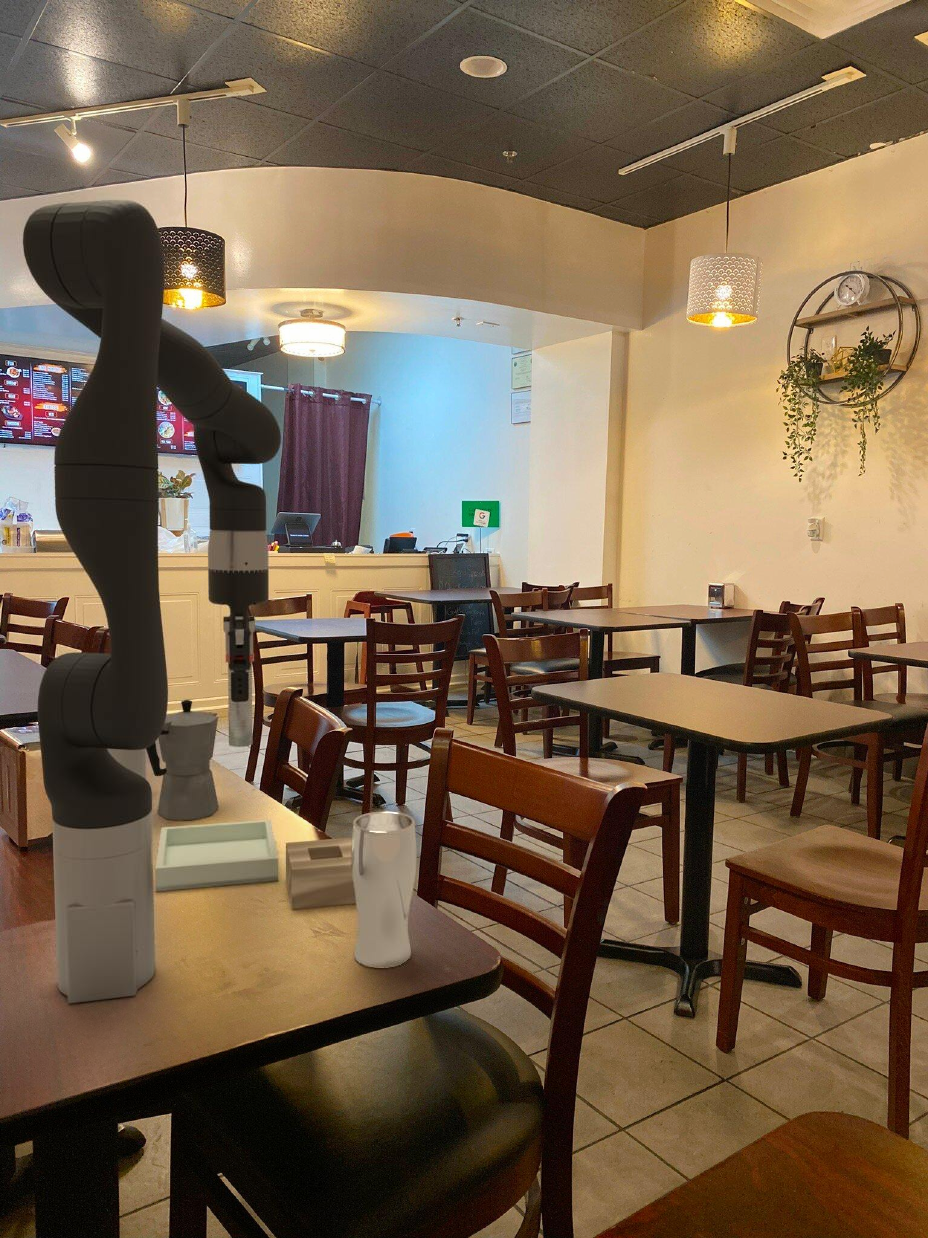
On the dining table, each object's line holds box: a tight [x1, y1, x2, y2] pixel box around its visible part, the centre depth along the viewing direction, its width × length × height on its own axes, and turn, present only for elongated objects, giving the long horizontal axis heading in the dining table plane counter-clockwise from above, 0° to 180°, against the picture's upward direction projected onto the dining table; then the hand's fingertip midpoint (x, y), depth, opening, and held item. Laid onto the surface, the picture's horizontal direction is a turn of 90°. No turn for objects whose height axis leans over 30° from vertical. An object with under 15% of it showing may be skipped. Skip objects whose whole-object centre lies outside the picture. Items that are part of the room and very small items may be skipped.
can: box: [108, 748, 147, 780], centre depth 147 cm, size 8×8×12 cm
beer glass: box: [351, 810, 417, 968], centre depth 95 cm, size 7×7×15 cm
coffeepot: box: [145, 699, 220, 822], centre depth 138 cm, size 15×9×18 cm, turn 155°
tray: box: [154, 819, 279, 892], centre depth 120 cm, size 15×15×3 cm
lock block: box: [285, 837, 356, 910], centre depth 112 cm, size 9×9×5 cm
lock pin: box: [225, 652, 255, 748], centre depth 116 cm, size 4×4×12 cm
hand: (239, 697), depth 116 cm, fingers closed on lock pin, 3 cm apart
